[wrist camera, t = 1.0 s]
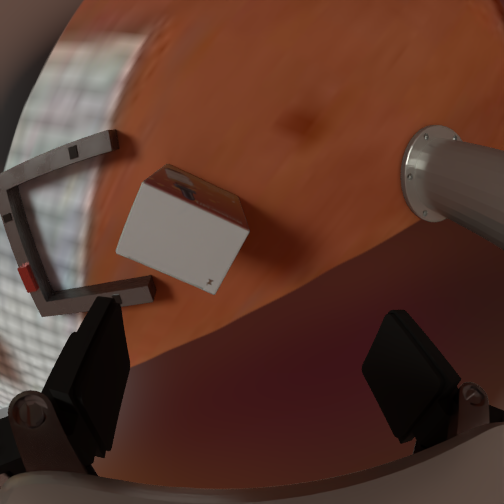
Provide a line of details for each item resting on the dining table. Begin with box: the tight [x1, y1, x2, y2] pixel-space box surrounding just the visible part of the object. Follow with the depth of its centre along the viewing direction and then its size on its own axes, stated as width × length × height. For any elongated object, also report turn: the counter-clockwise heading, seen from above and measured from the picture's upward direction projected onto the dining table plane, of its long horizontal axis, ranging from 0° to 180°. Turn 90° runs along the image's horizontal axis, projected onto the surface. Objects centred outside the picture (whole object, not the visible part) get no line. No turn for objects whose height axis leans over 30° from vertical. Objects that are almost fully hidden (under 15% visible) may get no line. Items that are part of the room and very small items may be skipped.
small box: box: [116, 164, 250, 295], centre depth 23 cm, size 8×6×10 cm
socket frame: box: [0, 130, 156, 317], centre depth 26 cm, size 16×18×3 cm
